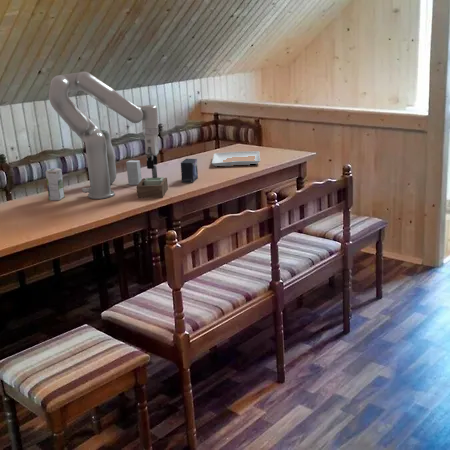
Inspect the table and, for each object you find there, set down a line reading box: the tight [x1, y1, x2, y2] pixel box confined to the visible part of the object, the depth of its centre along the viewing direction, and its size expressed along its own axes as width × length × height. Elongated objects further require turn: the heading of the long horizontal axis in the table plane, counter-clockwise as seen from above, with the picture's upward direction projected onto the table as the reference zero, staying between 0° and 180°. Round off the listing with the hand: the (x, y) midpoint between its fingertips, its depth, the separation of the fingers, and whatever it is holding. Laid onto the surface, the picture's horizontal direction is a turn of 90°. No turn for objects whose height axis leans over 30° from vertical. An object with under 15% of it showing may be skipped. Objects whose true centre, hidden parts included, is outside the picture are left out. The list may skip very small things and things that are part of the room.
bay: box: [135, 177, 169, 199], centre depth 301 cm, size 16×12×6 cm
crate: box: [144, 165, 165, 186], centre depth 305 cm, size 8×8×11 cm
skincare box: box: [125, 159, 143, 186], centre depth 321 cm, size 6×4×12 cm
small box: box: [180, 158, 199, 184], centre depth 323 cm, size 11×6×10 cm, turn 168°
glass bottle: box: [99, 129, 117, 185], centre depth 321 cm, size 10×10×28 cm
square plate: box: [211, 150, 261, 167], centre depth 361 cm, size 27×27×4 cm
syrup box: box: [45, 167, 65, 201], centre depth 299 cm, size 6×6×14 cm
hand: (152, 166), depth 306 cm, fingers open, 9 cm apart
